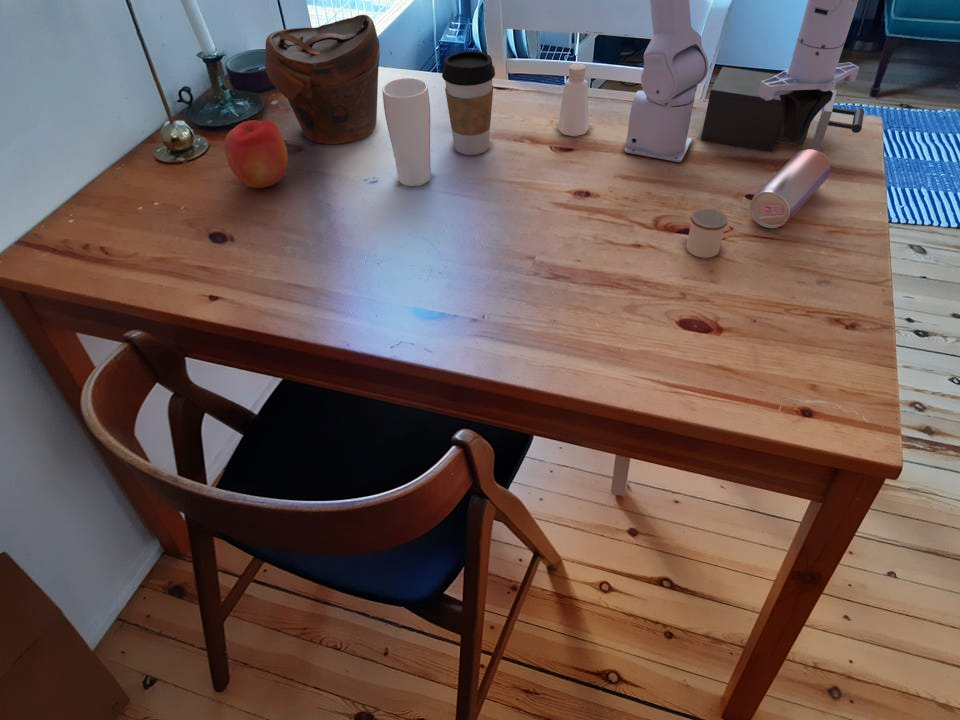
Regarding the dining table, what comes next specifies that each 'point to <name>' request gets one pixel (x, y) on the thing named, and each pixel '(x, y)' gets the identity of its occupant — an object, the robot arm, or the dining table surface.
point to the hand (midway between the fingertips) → (791, 138)
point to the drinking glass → (409, 128)
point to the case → (328, 77)
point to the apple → (256, 153)
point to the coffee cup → (469, 99)
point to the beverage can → (790, 188)
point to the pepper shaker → (574, 103)
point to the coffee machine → (742, 111)
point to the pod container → (706, 232)
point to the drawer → (825, 124)
